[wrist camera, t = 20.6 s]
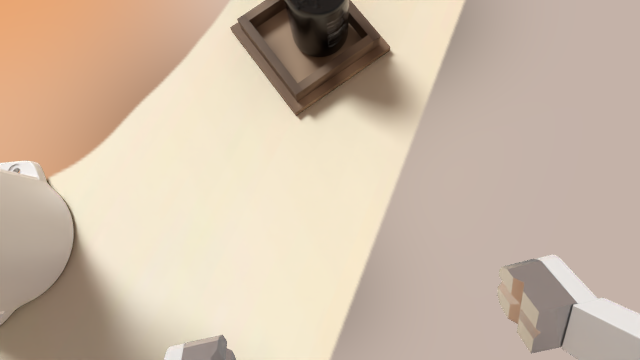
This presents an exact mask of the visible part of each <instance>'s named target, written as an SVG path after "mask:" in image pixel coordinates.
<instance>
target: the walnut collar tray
mask: <svg viewBox="0 0 640 360" xmlns="http://www.w3.org/2000/svg"><path fill="white" fill-rule="evenodd" d="M237 20H238V23H236V24H235V25H233V26H232V27H230V28H231V30H232V32H233V33H234V35H235V36H236V37H237V39H238V40H239V41H240V43H241V44H242V45H243V47H244V48H245V49H246V50H247V52H248V53H249V54H250V56H251V57H252V58H253V60H254V61H255V62H256V64H257V65H258V66H259V68H260V69H261V70H262V72H263V73H264V74H265V76H266V77H267V78H268V79H269V81H270V82H271V83H272V85H273V86H274V87H275V89H276V90H277V91H278V93H279V94H280V95H281V97H282V98H283V99H284V101H285V102H286V103H287V105H288V106H289V107H290V108H291V110H292V111H293V112H294V114H295V115H298V114H299V113H301V112H302V111H303V110H305V109H306V108H308V107H309V106H311V105H312V104H313V103H315V102H316V101H318V100H319V99H321V98H322V97H324V96H325V95H326V94H328V93H329V92H331V91H332V90H334V89H335V88H336V87H338V86H339V85H341V84H342V83H344V82H345V81H347V80H348V79H349V78H351V77H352V76H354V75H355V74H357V73H358V72H359V71H361V70H362V69H364V68H365V67H367V66H368V65H369V64H371V63H372V62H374V61H375V60H377V59H378V58H380V57H381V56H382V55H384V54H385V53H387V52H388V51H389V50H390V46H389V45H388V44H387V43H386V41H385V40H384V39H383V38H382V37H381V36H380V34H379V33H378V32H377V31H376V30H375V29H374V27H373V26H372V25H371V24H370V23H369V22H368V20H367V19H366V18H365V17H364V16H363V15H362V13H361V12H360V11H359V10H358V9H357V8H356V6H355V5H354V4H353V3H352V2H351V1H350V0H349V27H348V36H347V39H346V42H345V43H344V45H343V46H342V48H341V49H340V50H338V51H337V52H336V53H334V54H332V55H330V56H326V57H313V56H309V55H307V54H305V53H303V52H302V51H301V50H300V49H299V48H298V47H297V46H296V44H295V42H294V40H293V36H292V32H291V28H290V23H289V19H288V15H287V10H286V6H285V1H284V0H265V1H264V2H262V3H261V4H259V5H258V6H256V7H255V8H253V9H252V10H250V11H249V12H247V13H246V14H244V15H243V16H241V17H240V18H238V19H237Z"/></svg>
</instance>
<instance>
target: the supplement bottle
mask: <svg viewBox="0 0 640 360" xmlns="http://www.w3.org/2000/svg"><path fill="white" fill-rule="evenodd" d="M284 1H285V6H286V10H287V15H288V19H289V23H290V28H291V32H292V36H293V40H294V42H295V44H296V46H297V47H298V48H299V49H300V50H301V51H302V52H303V53H305V54H307V55H309V56H313V57H326V56H330V55H332V54H334V53H336V52H337V51H338V50H340V49H341V48H342V46H343V45H344V43H345V42H346V39H347V36H348V27H349V0H284Z"/></svg>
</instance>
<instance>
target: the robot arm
mask: <svg viewBox="0 0 640 360" xmlns="http://www.w3.org/2000/svg"><path fill="white" fill-rule="evenodd" d="M19 170H20V173H18V172H19ZM73 237H74V229H73V221H72V217H71V214H70V211H69V209H68V207H67V205H66V203H65V202H64V200H63V199H62V197H61V196H60V195H59V194H58V193H57V192H56V191H55V190H54V189H53V188H51V186H50V185H49V184H48V183H47V180H46V177H45V175H44V172H43V170H42V168H41V166H40V165H39V164H38V163H36V162H31V161H19V162H8V163H0V325H1V324H3V323H4V322H5V321H6V320H7V319H8V317H9V316H10V315H11V314H12V313H13V312H14V311H15V310H16V309H17V308H19V307H20V306H22V305H24V304H26V303H28V302H30V301H32V300H33V299H35V298H37V297H38V296H40V295H41V294H42V293H44V292H45V291H46V290H47V289H48V288H50V287H51V285H52V284H53V283H54V282H55V281H56V280H57V279H58V277H59V276H60V274H61V273H62V271H63V270H64V268H65V266H66V264H67V262H68V259H69V257H70V254H71V250H72V245H73ZM499 277H500V278H501V280H502V282H501V284H500V285H499V286H498V298H499V302H500V305H501V307H502V309H503V311H504V313H505V314H506V316H507V318H508V319H510V320H511V321H513V322H515V323H517V324H518V328H517V333H518V334H519V336H520V338H521V339H522V341H523V342H524V344H525V345H526V347H527V348H528V350H529V351H530V353H535V352H540V351H545V350H549V349H554V348H559V347H562V349H563V350H565V351H566V352H568V353H569V354H570V355H572V356H573V357H575V358H576V359H578V360H640V314H639V313H637V312H634V311H632V310H630V309H628V308H626V307H623V306H621V305H619V304H616V303H614V302H612V301H610V300H608V299H606V298H600V299H598V298H597V297H596V296H595V295H594V294H593V293H592V292H591V291H590V290H589V289H588V287H587V286H586V285H585V284H583V282H582V281H581V280H580V279H579V278H578V277H577V276H576V275H575V274H574V273H573V272H572V271H571V270H570V268H569V267H568V266H567V265H566V264H565V263H564V262H563V261H562V260H561V259H560V258H559V257H558V256H556V255H549V256H545V257H541V258H537V259H531V260H527V261H523V262H519V263H515V264H511V265H508V266H504V267H502V268H501V269H500V271H499ZM226 347H227V341H226V339H225V338H224V336H223V335H220V336H215V337H211V338H206V339H201V340H197V341H192V342H187V343H183V344H179V345H174V346H170V347H169V348H168V350H167V351H166V353H165V357H164V360H236V359H235V355H234V354H233V352H232V350H229V349H227V348H226Z"/></svg>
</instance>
